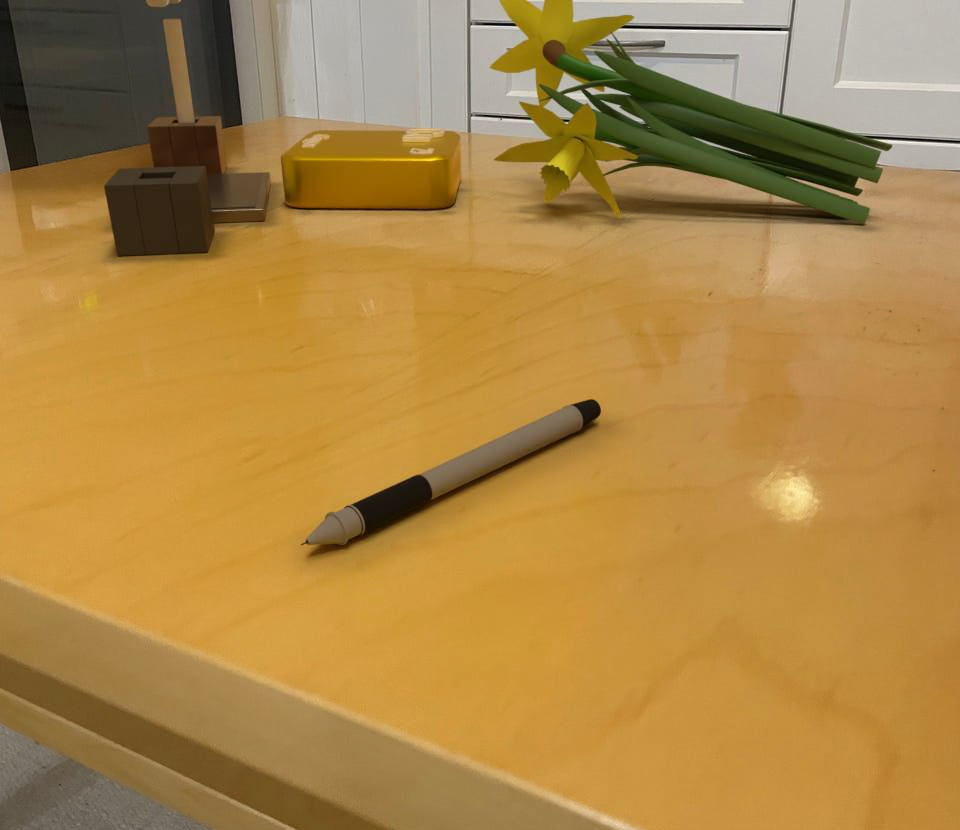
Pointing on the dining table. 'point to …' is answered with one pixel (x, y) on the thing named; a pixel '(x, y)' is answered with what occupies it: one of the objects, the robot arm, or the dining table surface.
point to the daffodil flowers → (669, 122)
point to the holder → (160, 210)
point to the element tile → (373, 169)
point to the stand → (188, 143)
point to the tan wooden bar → (179, 70)
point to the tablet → (239, 196)
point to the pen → (451, 474)
